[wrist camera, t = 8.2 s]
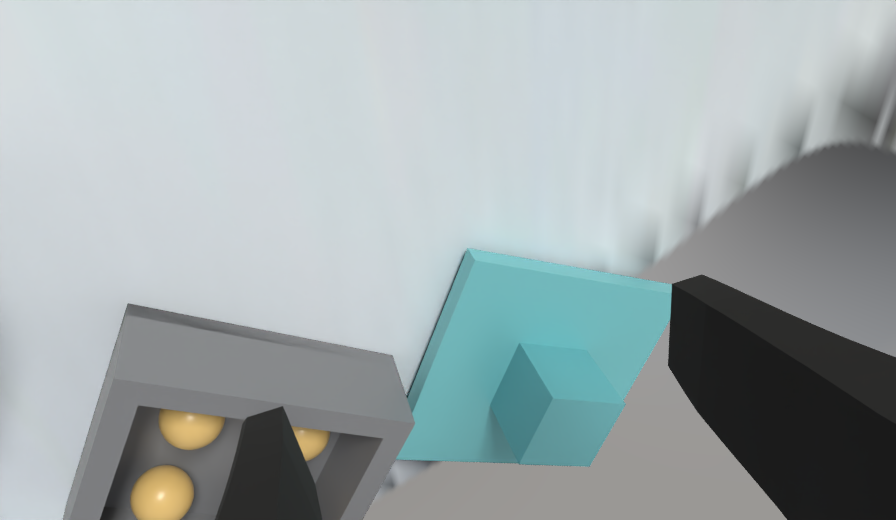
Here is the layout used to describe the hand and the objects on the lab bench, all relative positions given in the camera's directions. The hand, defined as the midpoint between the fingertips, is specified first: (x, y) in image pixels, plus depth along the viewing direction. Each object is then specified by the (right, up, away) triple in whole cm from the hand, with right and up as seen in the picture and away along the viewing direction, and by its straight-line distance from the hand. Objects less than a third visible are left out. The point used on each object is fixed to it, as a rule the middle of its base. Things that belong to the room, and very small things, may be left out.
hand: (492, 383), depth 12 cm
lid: (+2, -2, +14) cm, 15 cm away
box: (-9, -4, +12) cm, 16 cm away
